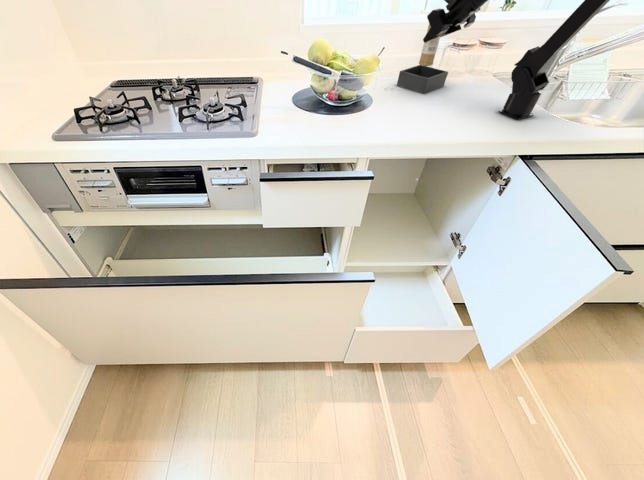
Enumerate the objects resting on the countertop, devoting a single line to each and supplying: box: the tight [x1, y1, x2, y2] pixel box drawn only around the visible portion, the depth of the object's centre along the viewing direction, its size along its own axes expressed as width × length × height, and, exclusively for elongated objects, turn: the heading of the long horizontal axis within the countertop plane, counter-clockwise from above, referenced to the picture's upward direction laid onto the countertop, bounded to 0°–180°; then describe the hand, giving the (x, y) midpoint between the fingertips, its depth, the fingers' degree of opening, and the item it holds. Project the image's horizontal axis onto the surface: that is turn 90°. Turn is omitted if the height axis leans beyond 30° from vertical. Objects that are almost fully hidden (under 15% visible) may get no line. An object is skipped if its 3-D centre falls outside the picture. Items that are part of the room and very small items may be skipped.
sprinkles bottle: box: [418, 22, 441, 67], centre depth 103 cm, size 5×5×13 cm
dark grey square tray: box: [396, 64, 449, 95], centre depth 111 cm, size 11×11×4 cm
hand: (428, 39), depth 104 cm, fingers closed on sprinkles bottle, 4 cm apart
